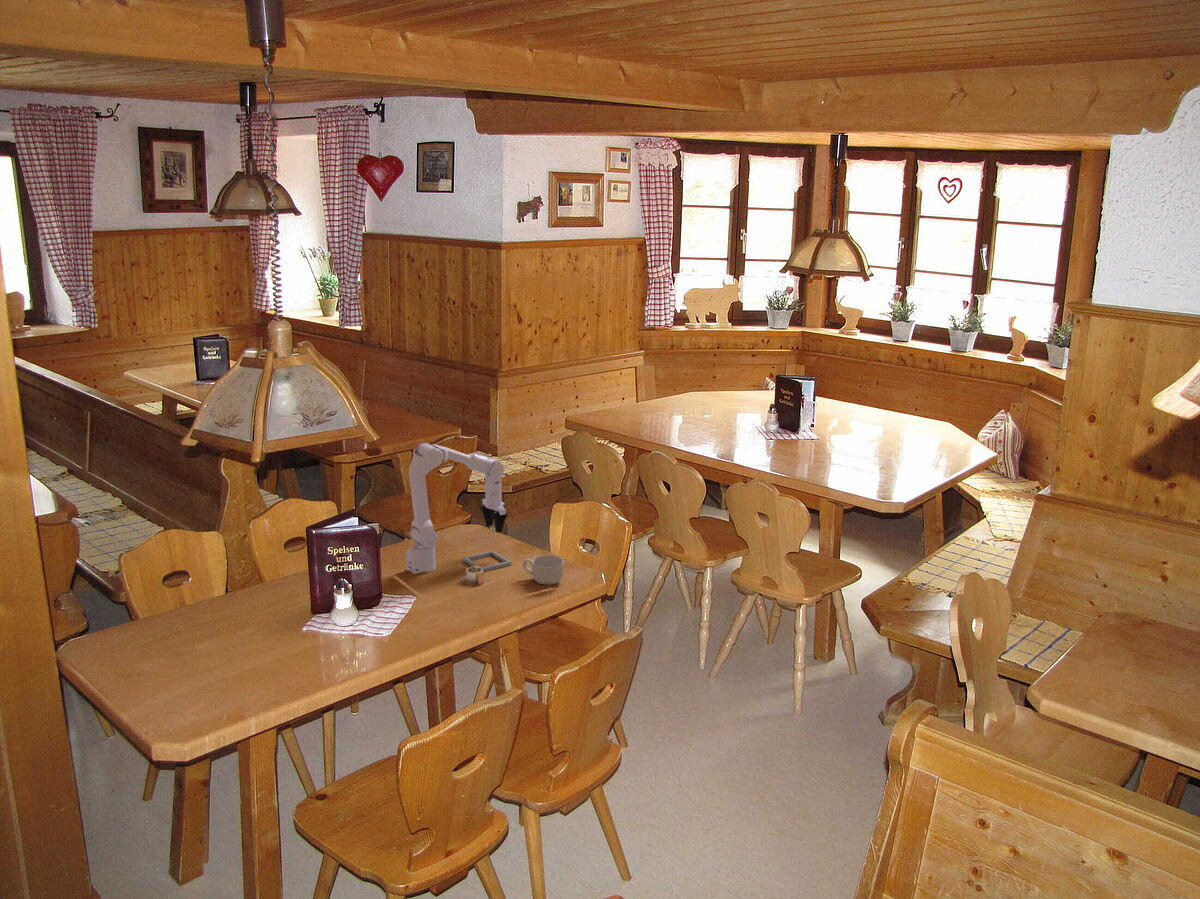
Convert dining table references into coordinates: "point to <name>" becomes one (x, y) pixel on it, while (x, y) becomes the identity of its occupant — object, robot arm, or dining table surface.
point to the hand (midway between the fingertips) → (494, 528)
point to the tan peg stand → (474, 569)
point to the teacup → (545, 569)
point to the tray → (477, 556)
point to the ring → (475, 575)
